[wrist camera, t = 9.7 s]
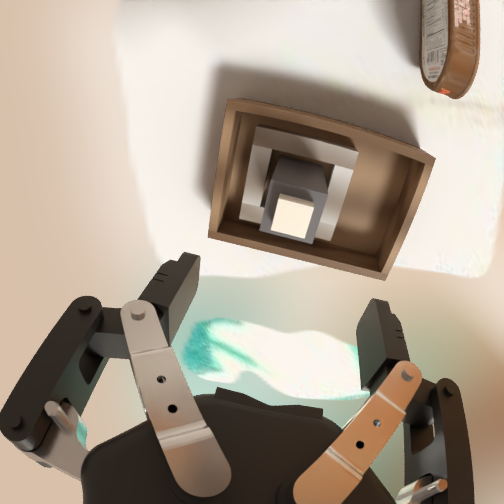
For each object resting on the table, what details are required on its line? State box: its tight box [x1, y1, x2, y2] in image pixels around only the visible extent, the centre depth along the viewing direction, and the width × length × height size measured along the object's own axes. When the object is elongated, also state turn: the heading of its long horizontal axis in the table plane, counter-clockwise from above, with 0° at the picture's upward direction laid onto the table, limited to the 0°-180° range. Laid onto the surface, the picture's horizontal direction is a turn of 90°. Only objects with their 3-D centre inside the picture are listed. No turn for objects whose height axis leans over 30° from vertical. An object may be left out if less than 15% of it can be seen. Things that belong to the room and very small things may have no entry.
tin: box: [420, 0, 480, 99], centre depth 14 cm, size 15×3×8 cm, turn 177°
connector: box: [259, 155, 328, 244], centre depth 24 cm, size 4×4×9 cm
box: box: [208, 98, 436, 281], centre depth 27 cm, size 13×18×4 cm
